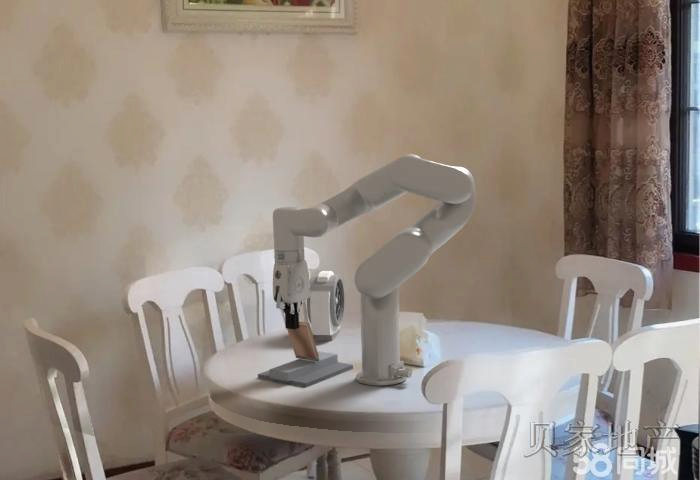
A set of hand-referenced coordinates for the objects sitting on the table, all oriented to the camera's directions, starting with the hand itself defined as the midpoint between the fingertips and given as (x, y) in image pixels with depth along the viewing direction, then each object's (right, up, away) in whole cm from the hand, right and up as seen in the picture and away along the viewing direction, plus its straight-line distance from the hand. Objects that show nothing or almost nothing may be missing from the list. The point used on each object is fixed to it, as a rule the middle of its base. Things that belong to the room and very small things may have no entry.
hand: (292, 328), depth 212 cm
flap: (+2, -4, +3) cm, 6 cm away
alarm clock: (+8, -8, +45) cm, 47 cm away
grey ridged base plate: (+3, -12, +5) cm, 14 cm away
